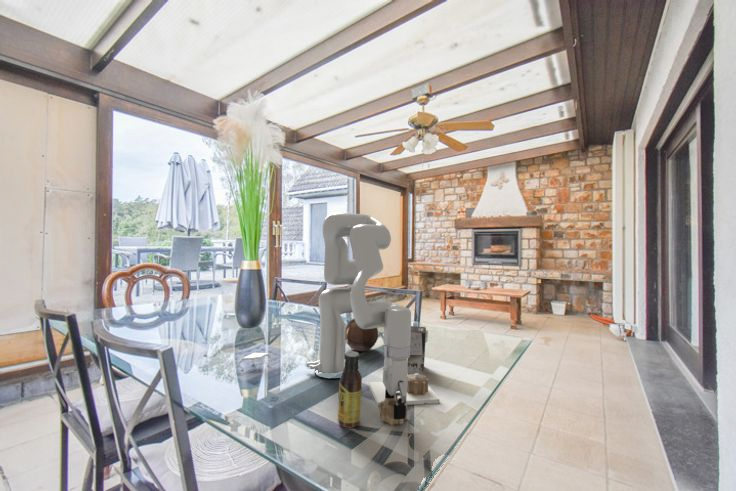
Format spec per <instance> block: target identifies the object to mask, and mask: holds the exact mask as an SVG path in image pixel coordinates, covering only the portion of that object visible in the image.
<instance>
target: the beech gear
mask: <svg viewBox="0 0 736 491" xmlns="http://www.w3.org/2000/svg"><path fill="white" fill-rule="evenodd" d="M394 404H395V398H385V400H384V401H383V402H382V401H381V405H380V406H379V408H380V409H379V417H380V418H381V422H383V423H384V422H385V423H388V424H389V425H390V426H394V425H403V424H404V421H407V420H408V419H407V417H408V405H406V416H405V419H394Z"/></svg>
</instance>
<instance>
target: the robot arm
mask: <svg viewBox="0 0 736 491" xmlns="http://www.w3.org/2000/svg"><path fill="white" fill-rule="evenodd" d="M322 237H323V241H324V262H323V263H324V266H323V272H324V273H323V278H324V281H325V283H326V284H327V285H329V286H330V285H331V286H345V285H347V287H333V288H327V289H325V290H323V291H322V292H321V293H320V294H319V296H318V301H317V302H318V308H319V319H320V320H319V321H320V325H319V328H320V329H319V331H320V332H319V349H318V350H319V352H318V353H319V355H318V356H319V357H318V358H317V360H315V361H306V368H309V370H314V372H315V371H316V370H318V373H319V372H322V373H329V374H330V373H338V372H341V371H343V370H344V366H345V353H346V340H345V339H346V326H347V324H346V322H345V320H344V319H343V317H342V315H344V314H351V313H352V315H353V319H355V322H356V323H357V325H358V326H359V327H360V328H362V329H373V328H377V329H378V328H383V330H384V331H383V353H382V354H383V357H384V360H383V372H382V382H383V384H384V386H385V398H395V404H394V419H405V416H406V397H407V394H406V393H407V385H408V374H409V373H408V369H407V367H408V366H407V360H408V358H409V357H410V336H411V326H412V312H411V310H410V308H408V307H406V306H401V305H399V304H397V303H396V302H394V301H392V300H391V301H390V300H386V301H385V300H384V301H383V300H382V301H373V302H368V301H367V298H366V292H365V290H366V286H367V283H368V281H369V279H371V278H373V277H375V276H377V275H379V274H380V273H381V272H382V271H383V270H384V264H383V260H382V256H381V252H380V251H381V250H385V249H388V247H390V245H391V242H392V238H391V232H390V231H389V229H388V227H387V226H386V225H385V224H383V223H382V222H380V221H379V220H377V219H375V218H374V217H372V216H371V215H368V214H363V213H351V212H332V213H330V214H328V215H327V216H326V217H325V219H324V221H323V224H322ZM345 237H346V238H349V244H350V246H351V252H352V256H353V258H349V246H348V244H347V242H346V240H345ZM397 391H400V393H396V392H397ZM397 396H400V397H401V398H399V399H398V398H397Z"/></svg>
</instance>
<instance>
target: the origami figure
mask: <svg viewBox="0 0 736 491" xmlns="http://www.w3.org/2000/svg"><path fill="white" fill-rule="evenodd" d="M265 357H268V359H269V360H270V362H268V363H266V366H268V365H269V364H270V363H272V362H273V358H272V357H271V354H270V352H253V353H251V354H248V355H246V356H244V357H242V358H241V360H240V361H239V362H238V363H237V364H236V366H237V367H238V368H240V369H241V370H242V369H243V370H244V369H245V368H244V367H242V366H240V364H242V363H243V362H244V361H252V362H251V363H252V365H255V360H259V361H260V363H259V366H258V369H259V368H260V367H261V368H262V365H263V363H264V362H263V359H262V358H265Z"/></svg>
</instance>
